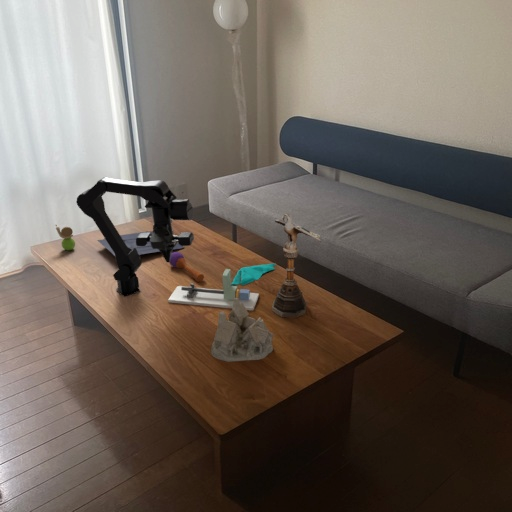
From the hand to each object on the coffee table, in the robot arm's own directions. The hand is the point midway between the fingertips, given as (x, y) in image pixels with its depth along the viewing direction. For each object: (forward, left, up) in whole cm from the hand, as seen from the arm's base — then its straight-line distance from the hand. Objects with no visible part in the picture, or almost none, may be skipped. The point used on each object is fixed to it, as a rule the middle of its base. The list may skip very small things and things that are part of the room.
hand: (168, 261), depth 176 cm
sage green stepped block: (+14, -17, -12) cm, 25 cm away
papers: (+10, +44, -14) cm, 47 cm away
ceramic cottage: (0, -42, -13) cm, 44 cm away
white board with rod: (+10, -12, -13) cm, 20 cm away
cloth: (+32, -5, -14) cm, 36 cm away
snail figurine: (-14, +61, -13) cm, 65 cm away
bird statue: (+29, -33, -13) cm, 45 cm away
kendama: (+14, +12, -14) cm, 23 cm away
